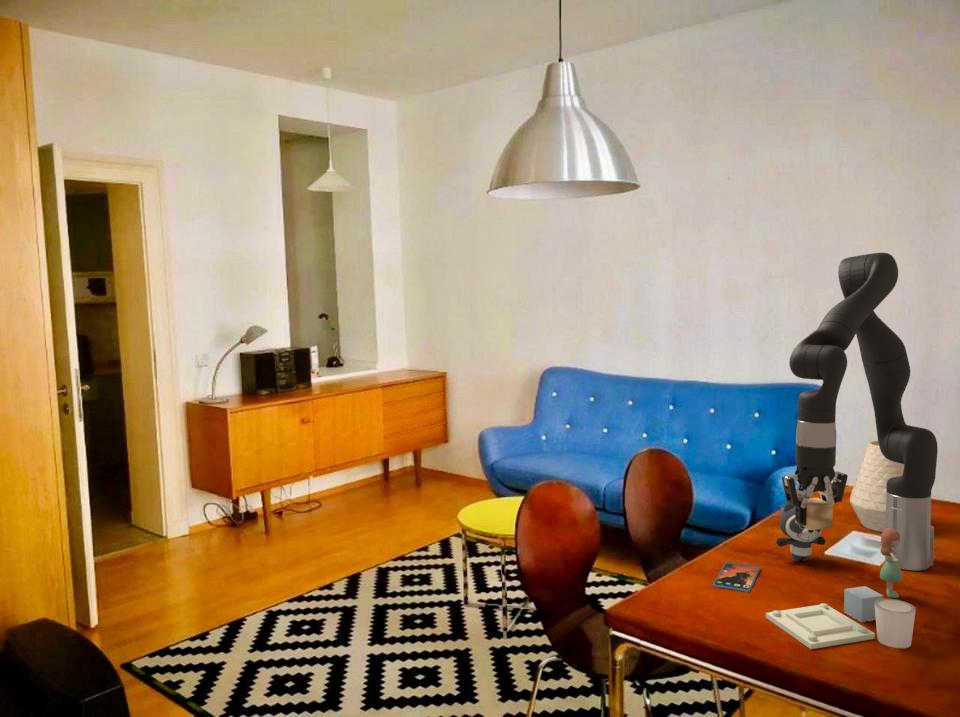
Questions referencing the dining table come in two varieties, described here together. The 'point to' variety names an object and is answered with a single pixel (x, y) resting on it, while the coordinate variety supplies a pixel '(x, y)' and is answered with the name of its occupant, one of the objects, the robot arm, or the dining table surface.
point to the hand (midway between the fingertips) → (813, 523)
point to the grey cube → (861, 603)
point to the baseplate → (819, 626)
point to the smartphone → (737, 577)
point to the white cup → (894, 622)
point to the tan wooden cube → (818, 514)
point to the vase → (873, 487)
